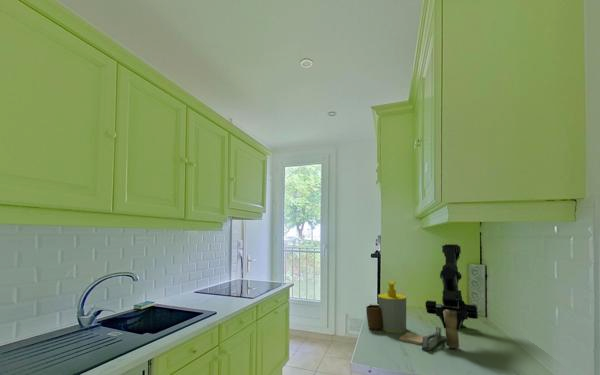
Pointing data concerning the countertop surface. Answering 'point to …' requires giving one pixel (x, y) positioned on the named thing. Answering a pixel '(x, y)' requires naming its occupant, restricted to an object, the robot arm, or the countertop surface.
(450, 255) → the robot arm
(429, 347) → the gray metal frame
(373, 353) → the countertop surface
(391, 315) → the soap bottle
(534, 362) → the countertop surface
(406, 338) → the terracotta tile
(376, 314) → the mug
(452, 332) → the tan wooden cylinder
